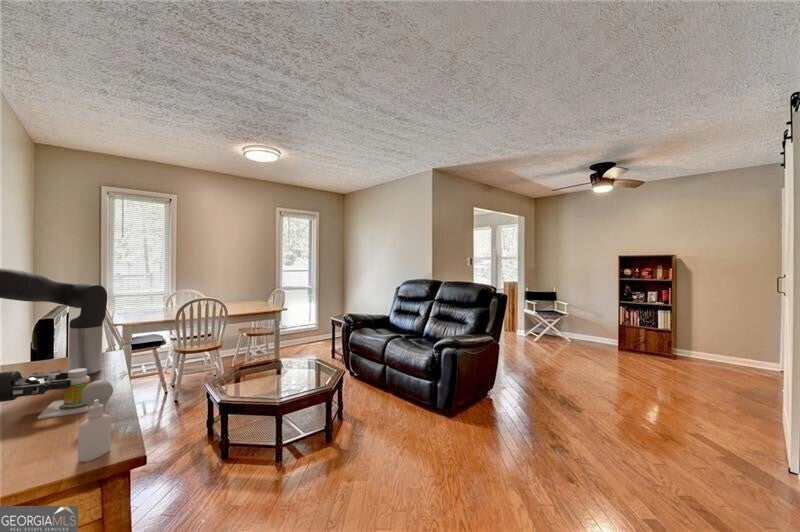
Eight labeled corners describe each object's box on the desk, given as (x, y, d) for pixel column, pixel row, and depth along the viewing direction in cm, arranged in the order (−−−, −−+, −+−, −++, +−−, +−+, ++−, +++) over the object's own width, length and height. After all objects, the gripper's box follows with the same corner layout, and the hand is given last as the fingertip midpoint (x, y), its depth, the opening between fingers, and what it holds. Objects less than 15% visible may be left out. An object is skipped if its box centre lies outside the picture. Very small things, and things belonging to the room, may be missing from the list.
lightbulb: (76, 430, 84) (77, 386, 84) (85, 420, 89) (86, 378, 89) (108, 426, 86) (109, 382, 86) (115, 416, 92) (116, 375, 92)
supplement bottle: (73, 408, 94) (74, 373, 94) (58, 406, 95) (59, 372, 95) (94, 401, 100) (95, 368, 100) (79, 399, 101) (80, 366, 101)
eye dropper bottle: (74, 457, 72) (76, 401, 72) (108, 446, 77) (109, 393, 77) (79, 465, 70) (81, 406, 70) (114, 453, 74) (116, 398, 74)
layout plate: (53, 403, 99) (53, 400, 99) (110, 395, 106) (110, 393, 106) (37, 419, 89) (37, 416, 89) (102, 409, 96) (102, 407, 96)
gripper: (-23, 381, 83) (68, 372, 91) (4, 366, 95) (82, 359, 103) (-24, 412, 83) (67, 400, 91) (3, 393, 95) (81, 384, 103)
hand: (75, 378), depth 97 cm, fingers open, 8 cm apart
